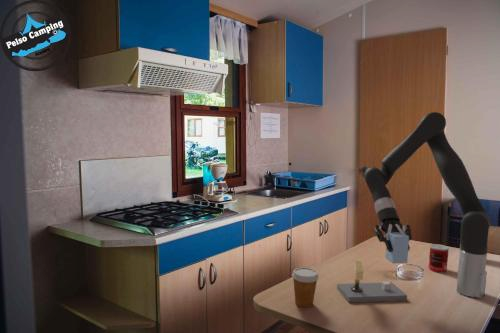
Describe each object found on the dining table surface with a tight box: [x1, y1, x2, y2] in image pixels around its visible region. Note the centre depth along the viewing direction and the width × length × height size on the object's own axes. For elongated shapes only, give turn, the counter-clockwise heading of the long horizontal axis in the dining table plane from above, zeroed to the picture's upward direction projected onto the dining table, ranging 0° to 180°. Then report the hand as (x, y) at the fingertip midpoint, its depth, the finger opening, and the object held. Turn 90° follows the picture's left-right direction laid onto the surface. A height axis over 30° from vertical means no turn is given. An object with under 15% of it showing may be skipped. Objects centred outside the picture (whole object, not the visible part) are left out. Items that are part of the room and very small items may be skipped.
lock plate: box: [336, 281, 408, 303], centre depth 152 cm, size 23×12×4 cm, turn 97°
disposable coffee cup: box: [291, 267, 320, 308], centre depth 142 cm, size 10×10×12 cm
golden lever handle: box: [353, 260, 364, 289], centre depth 146 cm, size 11×2×11 cm, turn 168°
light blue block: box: [385, 232, 410, 264], centre depth 145 cm, size 6×6×10 cm
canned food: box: [428, 243, 449, 273], centre depth 180 cm, size 8×8×11 cm
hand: (399, 251), depth 143 cm, fingers closed on light blue block, 5 cm apart
